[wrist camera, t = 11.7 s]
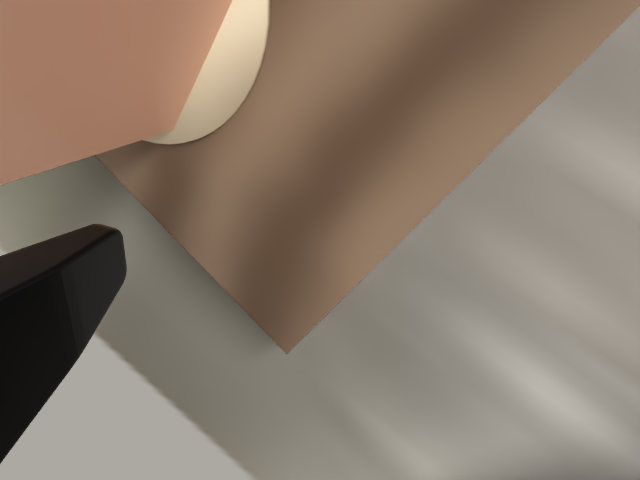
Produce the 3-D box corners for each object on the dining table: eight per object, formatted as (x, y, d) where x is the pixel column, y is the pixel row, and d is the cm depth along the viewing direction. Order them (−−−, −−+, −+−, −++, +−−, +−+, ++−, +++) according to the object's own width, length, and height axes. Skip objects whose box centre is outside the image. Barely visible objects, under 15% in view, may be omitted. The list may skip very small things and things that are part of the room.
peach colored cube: (247, -33, 18) (-6, -36, 11) (173, 129, 22) (-53, 202, 15) (100, -155, 19) (-218, -226, 12) (52, 21, 23) (-214, 42, 16)
